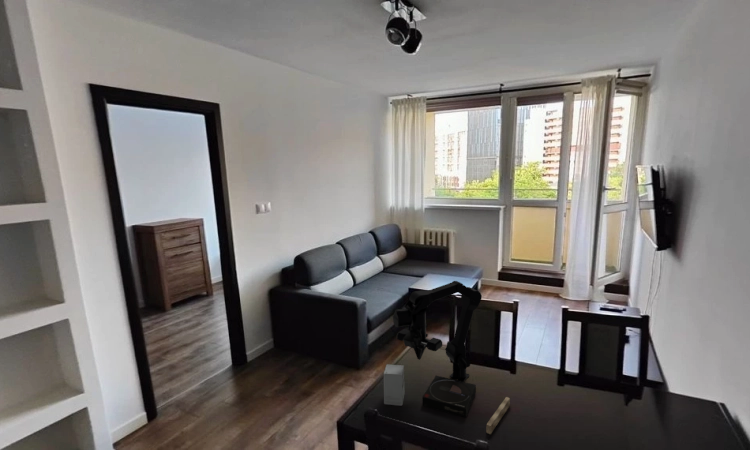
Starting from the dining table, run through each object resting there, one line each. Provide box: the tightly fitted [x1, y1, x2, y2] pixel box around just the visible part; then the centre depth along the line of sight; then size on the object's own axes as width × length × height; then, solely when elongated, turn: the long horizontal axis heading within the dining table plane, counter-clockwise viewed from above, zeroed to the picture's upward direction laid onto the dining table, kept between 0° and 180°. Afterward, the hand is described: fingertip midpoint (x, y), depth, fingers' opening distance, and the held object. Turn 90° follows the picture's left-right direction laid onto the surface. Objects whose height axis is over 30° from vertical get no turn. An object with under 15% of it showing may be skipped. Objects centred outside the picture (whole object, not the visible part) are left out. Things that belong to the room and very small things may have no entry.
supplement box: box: [383, 363, 405, 406], centre depth 137 cm, size 7×7×13 cm
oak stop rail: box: [485, 396, 511, 435], centre depth 125 cm, size 19×1×3 cm, turn 141°
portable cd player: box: [421, 375, 477, 418], centre depth 137 cm, size 16×17×4 cm
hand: (419, 359), depth 145 cm, fingers closed
